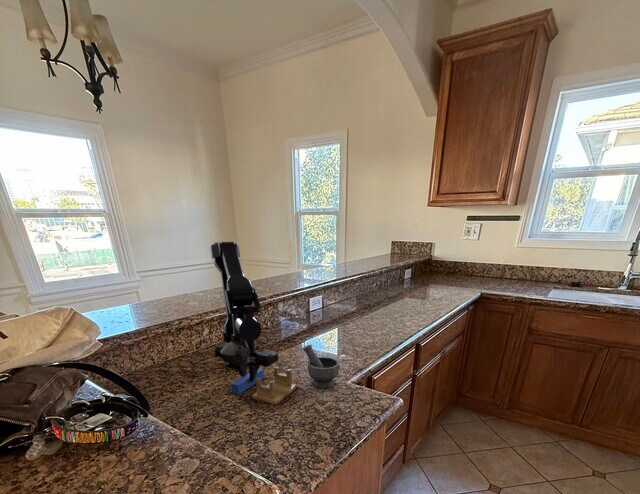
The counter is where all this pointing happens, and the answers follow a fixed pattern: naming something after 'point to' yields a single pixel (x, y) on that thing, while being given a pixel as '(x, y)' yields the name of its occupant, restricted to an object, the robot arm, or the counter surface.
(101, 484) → the counter surface
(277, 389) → the holder
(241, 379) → the blue rectangular block
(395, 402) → the counter surface
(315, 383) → the mortar and pestle
